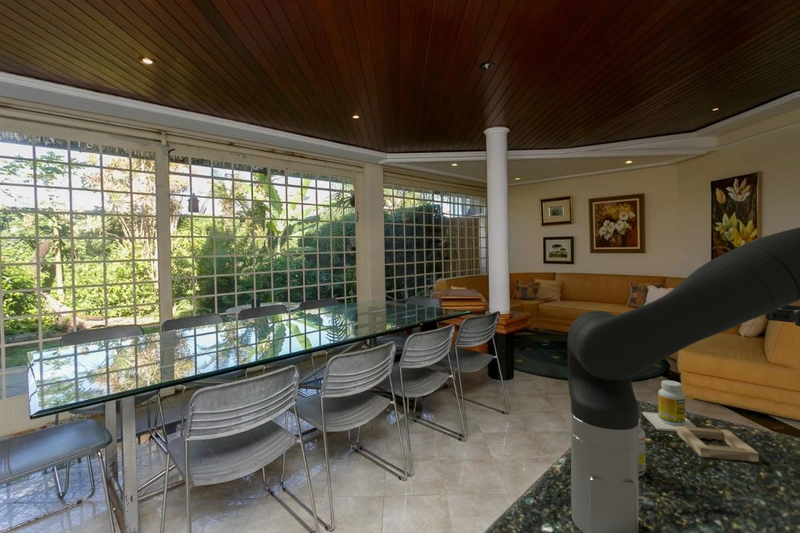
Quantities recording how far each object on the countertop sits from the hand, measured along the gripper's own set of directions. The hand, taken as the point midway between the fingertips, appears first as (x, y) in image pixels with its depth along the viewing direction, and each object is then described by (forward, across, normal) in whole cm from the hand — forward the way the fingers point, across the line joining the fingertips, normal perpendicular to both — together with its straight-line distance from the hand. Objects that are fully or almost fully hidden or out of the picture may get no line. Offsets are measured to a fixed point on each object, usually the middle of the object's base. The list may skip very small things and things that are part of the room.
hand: (774, 311), depth 74 cm
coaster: (+18, 0, +30) cm, 35 cm away
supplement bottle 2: (+18, 0, +30) cm, 35 cm away
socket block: (+8, +4, +30) cm, 31 cm away
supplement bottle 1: (+13, +28, +30) cm, 44 cm away
